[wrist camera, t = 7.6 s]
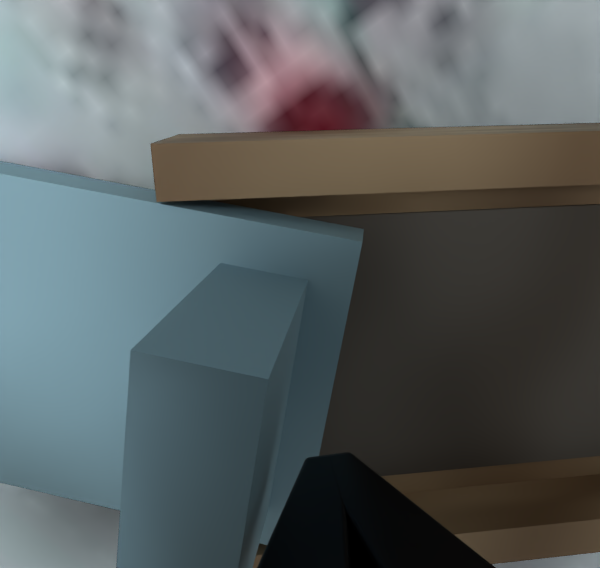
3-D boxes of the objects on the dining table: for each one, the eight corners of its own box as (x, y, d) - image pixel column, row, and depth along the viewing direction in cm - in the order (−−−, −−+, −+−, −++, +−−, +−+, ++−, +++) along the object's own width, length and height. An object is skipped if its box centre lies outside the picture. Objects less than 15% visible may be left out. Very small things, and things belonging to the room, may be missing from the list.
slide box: (804, 117, 14) (1038, 118, 10) (729, 421, 17) (887, 519, 13) (179, 134, 12) (150, 144, 8) (208, 467, 15) (197, 596, 11)
